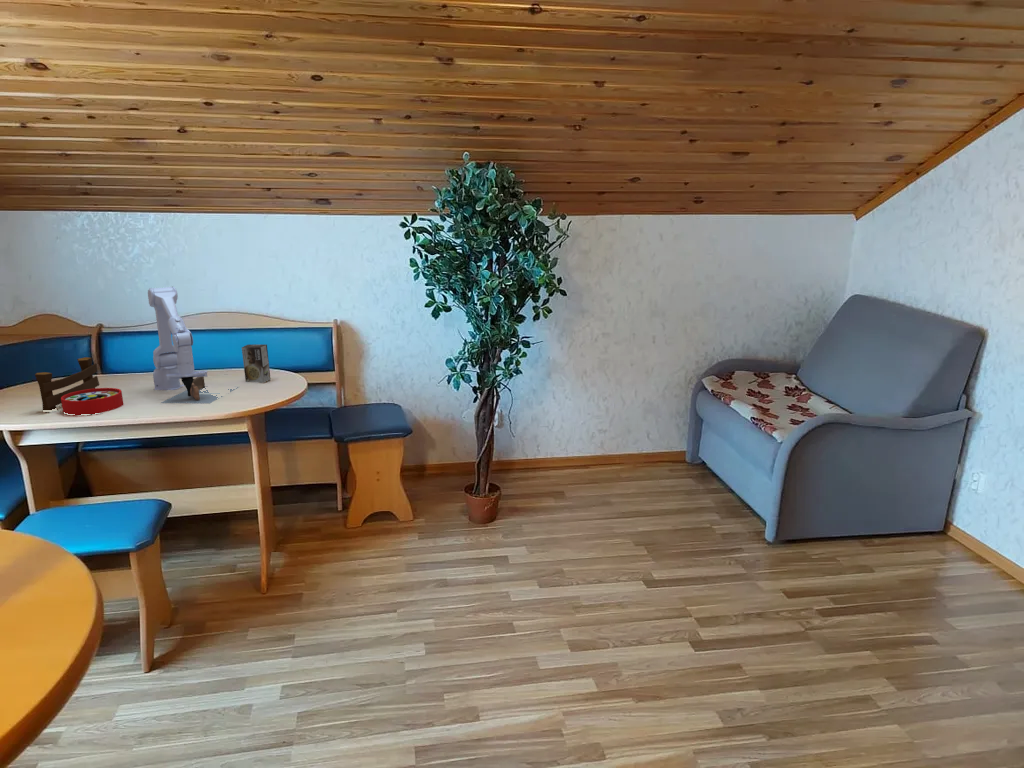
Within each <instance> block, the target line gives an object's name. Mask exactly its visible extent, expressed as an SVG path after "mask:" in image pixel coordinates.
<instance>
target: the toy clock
mask: <svg viewBox="0 0 1024 768" xmlns="http://www.w3.org/2000/svg"><path fill="white" fill-rule="evenodd" d="M123 398H124V397H123V392H122V389H120V388H117V387H116V388H114V387H95V389H87V390H81V391H76V392H72V393H69V394H66V395H64V396H62V397H61V402H62V404H61V407H62V413H63V412H65V413H68V414H75V415H81V414H95V413H102V414H103V413H106V412H109V411H113V410H116V409H119V408H122V407H123V406H124V399H123Z"/></svg>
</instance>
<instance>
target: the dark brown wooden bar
mask: <svg viewBox="0 0 1024 768" xmlns="http://www.w3.org/2000/svg"><path fill="white" fill-rule="evenodd" d="M193 383H194V384H195V385H196V386H197V387H198V389H199V390H200V389H202V388H205V387H206V385H205V384H206V383H205V377H204V376H203V377H193Z"/></svg>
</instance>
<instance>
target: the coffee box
mask: <svg viewBox="0 0 1024 768" xmlns="http://www.w3.org/2000/svg"><path fill="white" fill-rule="evenodd" d="M241 353H242V362H243V363H242V364H243V370H244V371H243V372H244V379H245V382H246V383H259V382H265V383H267V382H269V381H271V380H270V379H271V373H270V363H269V362H270V361H269V351H268V344H258V343H257V344H246V345H244V346H241ZM268 380H269V381H268ZM266 381H267V382H266Z"/></svg>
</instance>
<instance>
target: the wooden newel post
mask: <svg viewBox="0 0 1024 768" xmlns="http://www.w3.org/2000/svg"><path fill="white" fill-rule="evenodd" d="M190 393H191V395H192V396H193V397H194V398H195V400H200V397H199V389H198V387H197V386H196V385H195V384H194V383H192V385H191V389H190Z"/></svg>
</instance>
